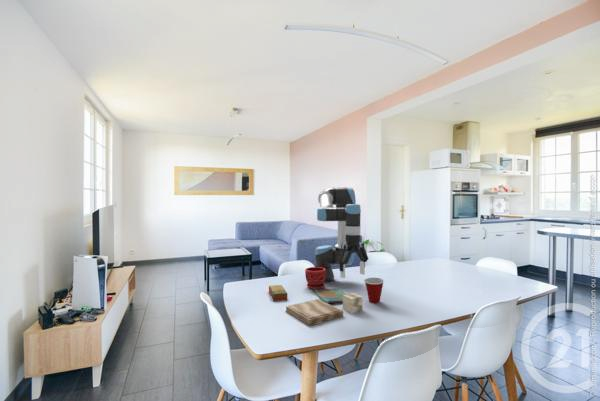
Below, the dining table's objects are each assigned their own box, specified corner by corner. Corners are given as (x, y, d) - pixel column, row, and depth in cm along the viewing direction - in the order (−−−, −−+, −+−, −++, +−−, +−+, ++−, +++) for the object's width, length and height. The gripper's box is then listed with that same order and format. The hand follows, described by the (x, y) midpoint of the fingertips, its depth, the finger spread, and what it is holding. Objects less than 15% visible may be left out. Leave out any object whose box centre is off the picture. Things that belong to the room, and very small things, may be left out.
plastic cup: (359, 299, 164) (359, 278, 164) (375, 297, 169) (375, 276, 169) (372, 306, 154) (372, 283, 154) (388, 303, 159) (388, 281, 159)
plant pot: (325, 284, 193) (325, 266, 192) (325, 291, 179) (325, 271, 179) (305, 284, 194) (306, 266, 194) (304, 290, 181) (304, 270, 181)
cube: (352, 305, 155) (352, 292, 155) (362, 310, 149) (362, 296, 149) (342, 308, 151) (342, 295, 151) (352, 313, 145) (352, 299, 145)
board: (318, 303, 158) (318, 298, 158) (343, 316, 141) (343, 310, 141) (286, 311, 147) (286, 305, 147) (309, 325, 130) (309, 319, 130)
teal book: (326, 306, 155) (326, 301, 155) (312, 292, 178) (312, 288, 178) (355, 303, 160) (356, 298, 160) (338, 290, 182) (338, 286, 182)
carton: (282, 291, 179) (282, 284, 179) (287, 300, 164) (287, 292, 164) (268, 292, 177) (268, 285, 177) (273, 301, 162) (273, 293, 162)
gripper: (364, 232, 160) (364, 271, 160) (329, 235, 146) (329, 277, 146) (375, 233, 153) (375, 274, 153) (339, 236, 140) (339, 281, 140)
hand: (352, 275), depth 150 cm, fingers open, 13 cm apart
